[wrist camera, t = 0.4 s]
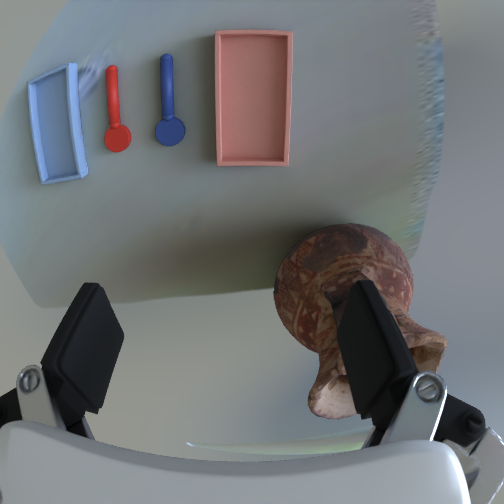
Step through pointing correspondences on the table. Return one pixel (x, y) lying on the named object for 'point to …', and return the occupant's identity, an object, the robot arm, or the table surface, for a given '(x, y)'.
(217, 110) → the rose tray
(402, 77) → the table surface
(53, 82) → the blue tray
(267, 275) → the table surface
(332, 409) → the jug
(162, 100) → the navy spoon
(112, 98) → the red spoon
